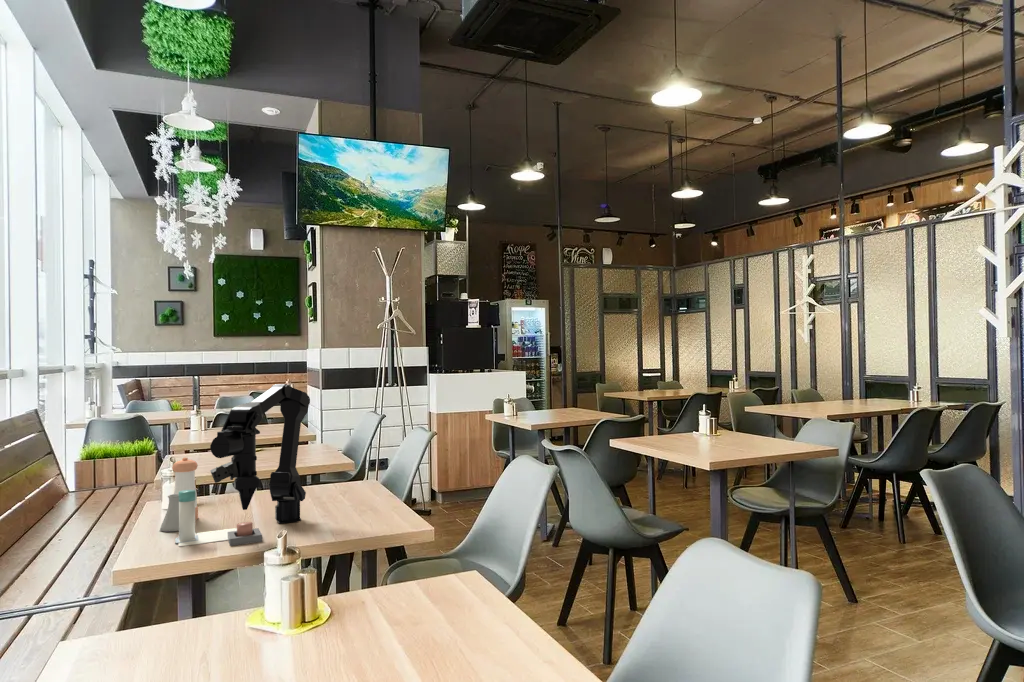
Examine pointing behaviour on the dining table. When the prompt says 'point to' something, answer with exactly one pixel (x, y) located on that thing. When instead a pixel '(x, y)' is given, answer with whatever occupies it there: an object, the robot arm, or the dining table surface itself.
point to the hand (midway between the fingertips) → (244, 509)
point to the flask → (171, 515)
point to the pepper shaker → (185, 477)
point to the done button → (244, 529)
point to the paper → (207, 537)
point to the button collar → (244, 537)
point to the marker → (187, 515)
